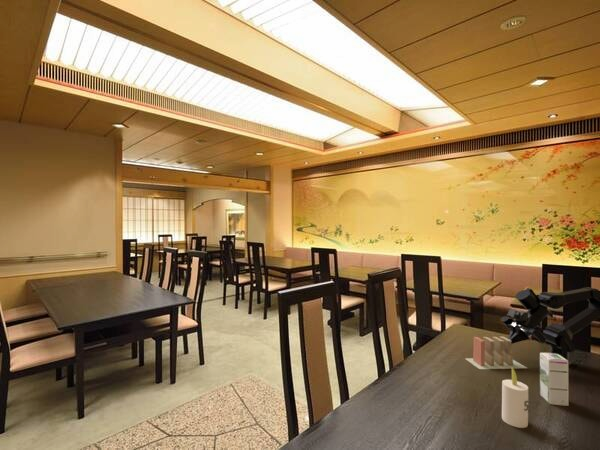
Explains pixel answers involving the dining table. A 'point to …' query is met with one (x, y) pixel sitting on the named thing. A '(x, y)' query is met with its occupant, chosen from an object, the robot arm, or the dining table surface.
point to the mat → (496, 365)
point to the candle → (515, 402)
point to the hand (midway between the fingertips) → (507, 343)
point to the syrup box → (554, 378)
